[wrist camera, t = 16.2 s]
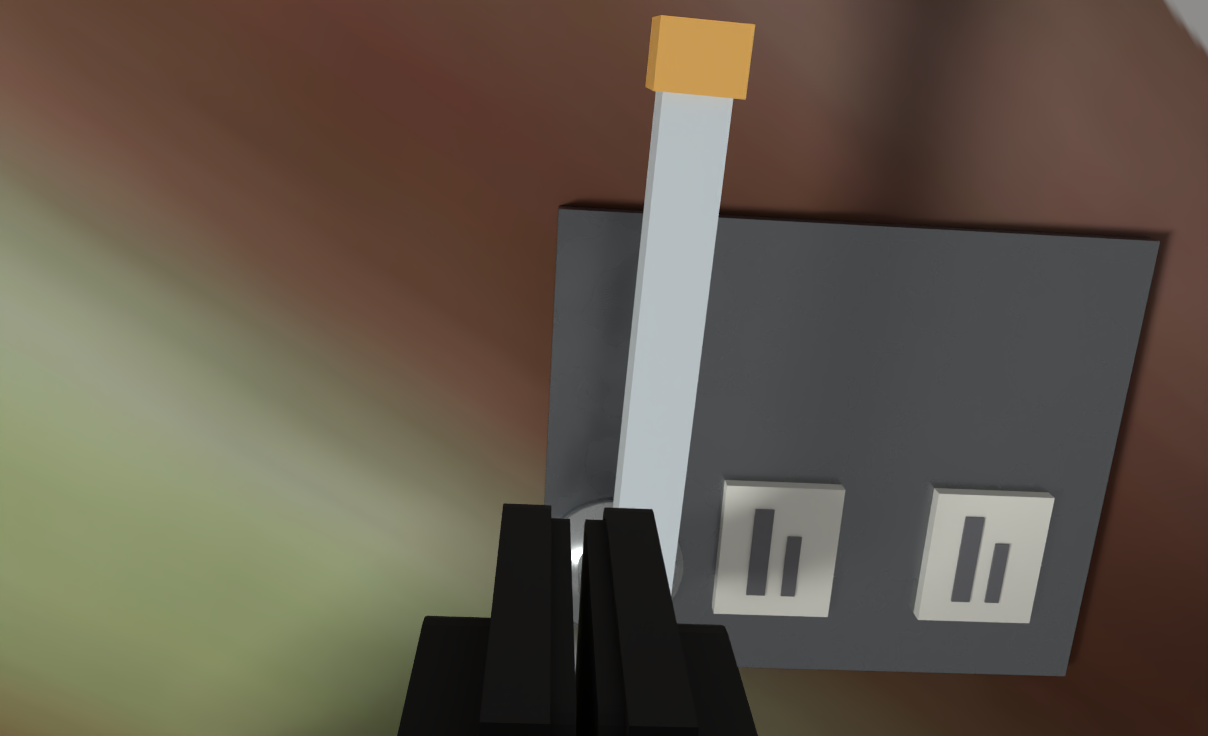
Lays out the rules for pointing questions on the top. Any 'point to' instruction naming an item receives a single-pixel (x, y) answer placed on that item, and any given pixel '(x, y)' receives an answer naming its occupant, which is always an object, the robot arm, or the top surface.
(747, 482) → the label plate
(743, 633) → the board
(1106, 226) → the top surface
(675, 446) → the bar
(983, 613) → the label plate
